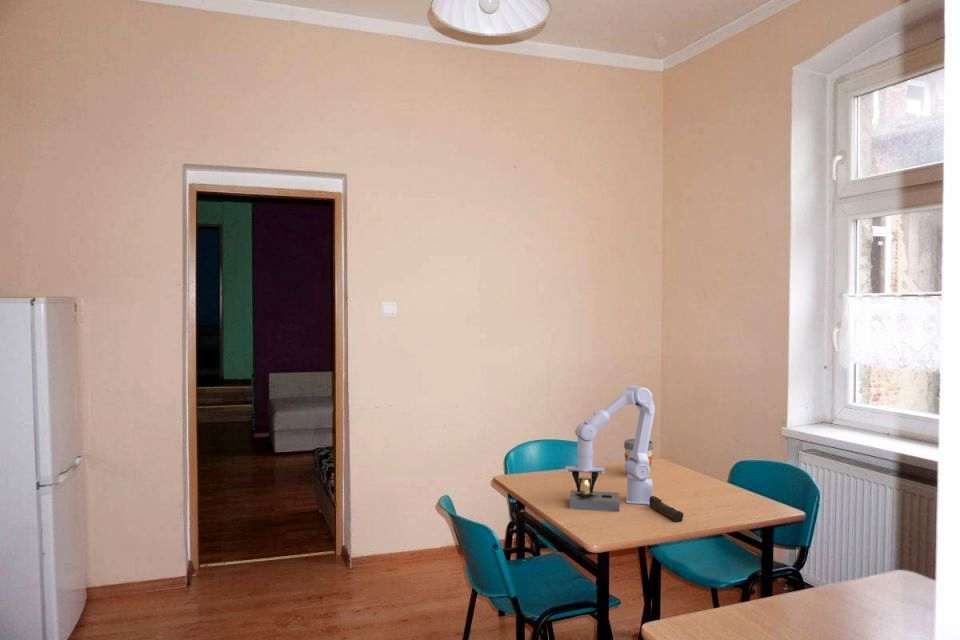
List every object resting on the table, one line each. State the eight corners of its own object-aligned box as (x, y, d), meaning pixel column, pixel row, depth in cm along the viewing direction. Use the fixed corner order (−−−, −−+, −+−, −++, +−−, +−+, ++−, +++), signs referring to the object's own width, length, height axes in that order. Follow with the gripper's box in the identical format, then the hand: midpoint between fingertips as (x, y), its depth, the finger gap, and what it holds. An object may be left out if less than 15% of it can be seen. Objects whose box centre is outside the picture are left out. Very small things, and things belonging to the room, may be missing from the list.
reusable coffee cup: (647, 471, 290) (647, 438, 290) (657, 478, 278) (657, 444, 277) (620, 472, 289) (620, 438, 289) (628, 479, 277) (628, 444, 276)
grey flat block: (618, 501, 245) (618, 492, 245) (619, 511, 233) (619, 501, 233) (570, 499, 248) (570, 490, 248) (569, 508, 236) (569, 499, 236)
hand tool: (684, 522, 222) (684, 509, 222) (673, 523, 221) (673, 510, 221) (656, 506, 240) (656, 494, 240) (646, 507, 239) (647, 494, 239)
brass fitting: (590, 495, 243) (590, 477, 243) (591, 499, 239) (591, 480, 238) (578, 495, 243) (579, 476, 243) (579, 498, 239) (579, 480, 239)
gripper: (565, 457, 238) (565, 493, 238) (604, 458, 236) (604, 495, 236) (566, 453, 245) (565, 488, 245) (604, 454, 243) (604, 490, 243)
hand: (585, 491), depth 241 cm, fingers closed on brass fitting, 4 cm apart
